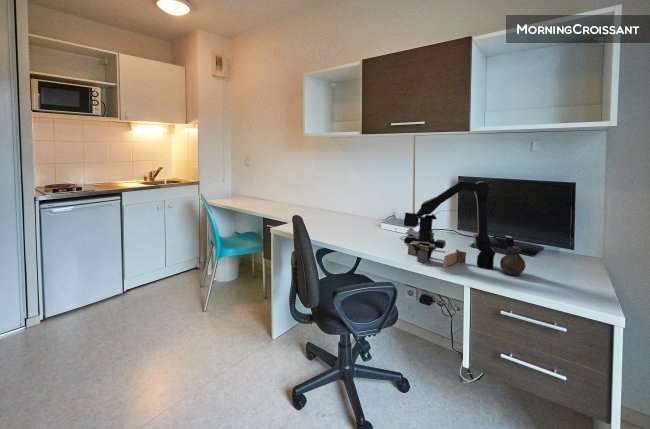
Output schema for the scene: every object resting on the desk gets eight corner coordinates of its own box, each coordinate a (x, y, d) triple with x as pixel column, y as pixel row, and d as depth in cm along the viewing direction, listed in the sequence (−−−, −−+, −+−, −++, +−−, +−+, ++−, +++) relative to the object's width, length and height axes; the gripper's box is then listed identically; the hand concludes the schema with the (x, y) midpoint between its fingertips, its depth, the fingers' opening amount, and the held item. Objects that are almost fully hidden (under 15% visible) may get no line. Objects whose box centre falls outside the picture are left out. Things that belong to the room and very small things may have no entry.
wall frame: (465, 262, 166) (466, 250, 165) (464, 263, 164) (465, 251, 163) (408, 253, 180) (409, 242, 179) (407, 254, 179) (408, 243, 177)
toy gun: (428, 256, 188) (435, 240, 185) (402, 242, 197) (407, 227, 194) (430, 255, 190) (436, 239, 186) (403, 242, 199) (409, 226, 195)
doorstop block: (420, 258, 172) (421, 247, 171) (429, 259, 170) (430, 249, 169) (417, 261, 167) (417, 250, 166) (426, 263, 165) (427, 252, 164)
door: (454, 261, 167) (455, 251, 166) (456, 261, 166) (457, 251, 165) (443, 266, 159) (444, 256, 158) (445, 267, 159) (446, 256, 158)
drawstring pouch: (515, 269, 156) (518, 244, 154) (529, 277, 147) (532, 250, 145) (495, 270, 156) (497, 244, 154) (506, 277, 147) (509, 250, 144)
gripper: (449, 226, 167) (447, 257, 170) (411, 222, 177) (410, 251, 180) (444, 231, 158) (441, 263, 161) (404, 226, 167) (403, 257, 170)
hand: (423, 258), depth 168 cm, fingers closed on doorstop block, 4 cm apart
